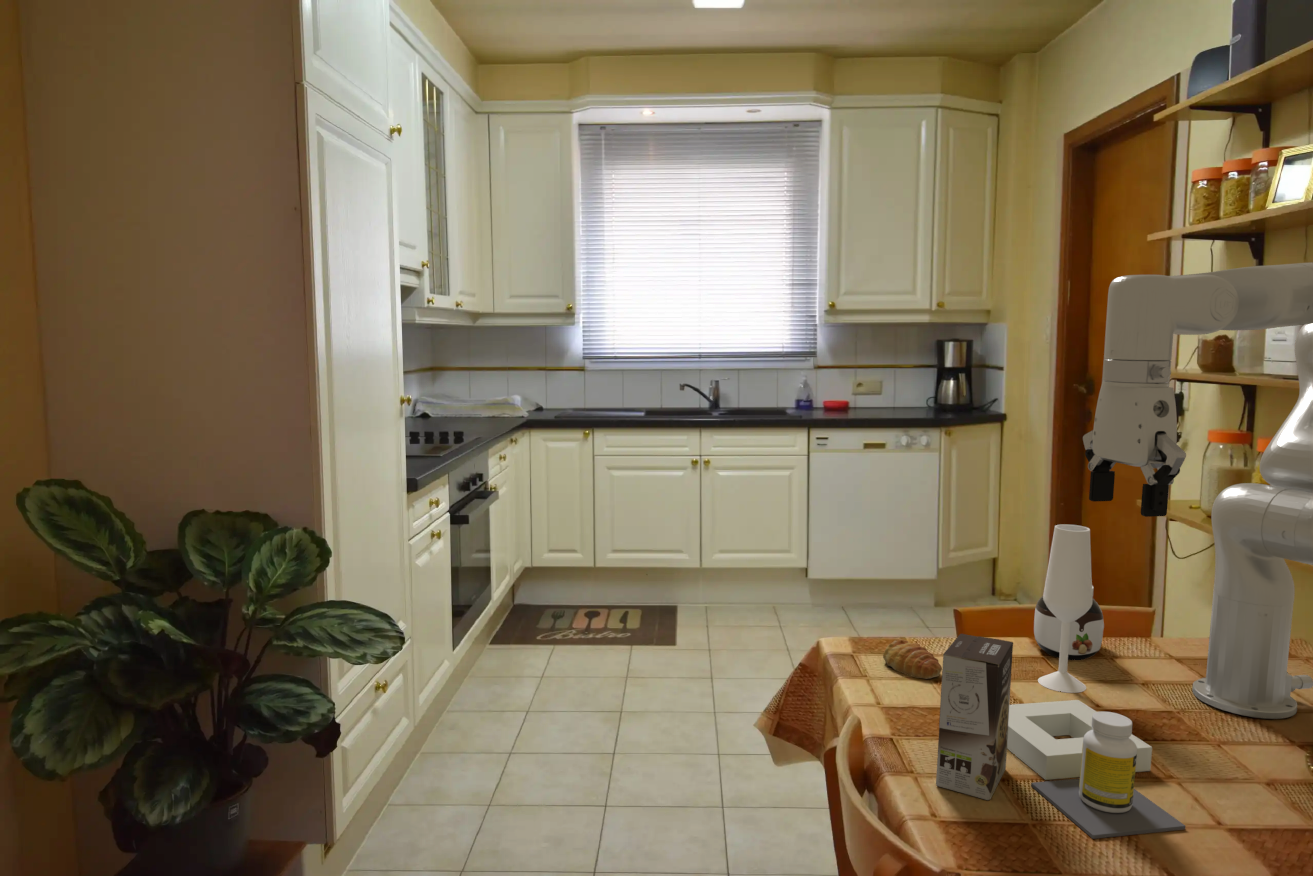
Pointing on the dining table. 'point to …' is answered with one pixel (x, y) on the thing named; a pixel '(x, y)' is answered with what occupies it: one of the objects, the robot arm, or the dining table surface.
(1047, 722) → the socket block
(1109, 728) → the supplement bottle
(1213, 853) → the dining table surface
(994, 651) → the coffee box
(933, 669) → the pastry
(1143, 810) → the mat
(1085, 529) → the champagne flute
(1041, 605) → the spread jar
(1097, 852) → the dining table surface
